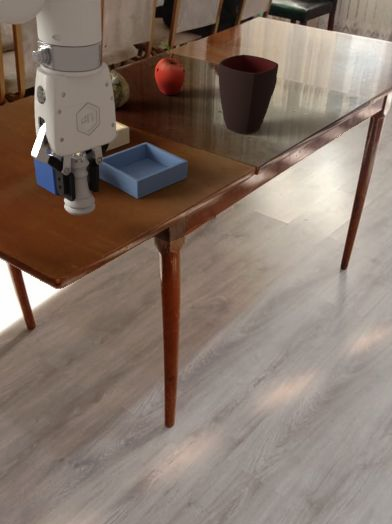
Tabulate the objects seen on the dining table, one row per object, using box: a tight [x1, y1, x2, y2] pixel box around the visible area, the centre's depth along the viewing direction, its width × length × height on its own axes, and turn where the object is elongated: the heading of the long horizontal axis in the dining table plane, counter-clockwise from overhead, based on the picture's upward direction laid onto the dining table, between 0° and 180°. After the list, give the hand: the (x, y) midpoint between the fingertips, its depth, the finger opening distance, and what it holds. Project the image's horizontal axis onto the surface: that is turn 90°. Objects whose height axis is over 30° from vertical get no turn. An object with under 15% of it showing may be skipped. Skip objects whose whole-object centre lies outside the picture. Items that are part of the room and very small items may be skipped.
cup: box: [218, 54, 279, 136], centre depth 120 cm, size 10×14×12 cm
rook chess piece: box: [63, 152, 96, 217], centre depth 87 cm, size 4×4×8 cm
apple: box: [154, 41, 186, 96], centre depth 132 cm, size 8×7×10 cm
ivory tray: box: [77, 120, 131, 156], centre depth 114 cm, size 11×10×3 cm
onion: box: [108, 67, 130, 109], centre depth 126 cm, size 8×8×8 cm
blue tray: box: [99, 141, 189, 200], centre depth 104 cm, size 11×10×3 cm
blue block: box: [33, 148, 73, 196], centre depth 101 cm, size 5×5×5 cm
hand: (79, 192), depth 88 cm, fingers closed on rook chess piece, 3 cm apart
